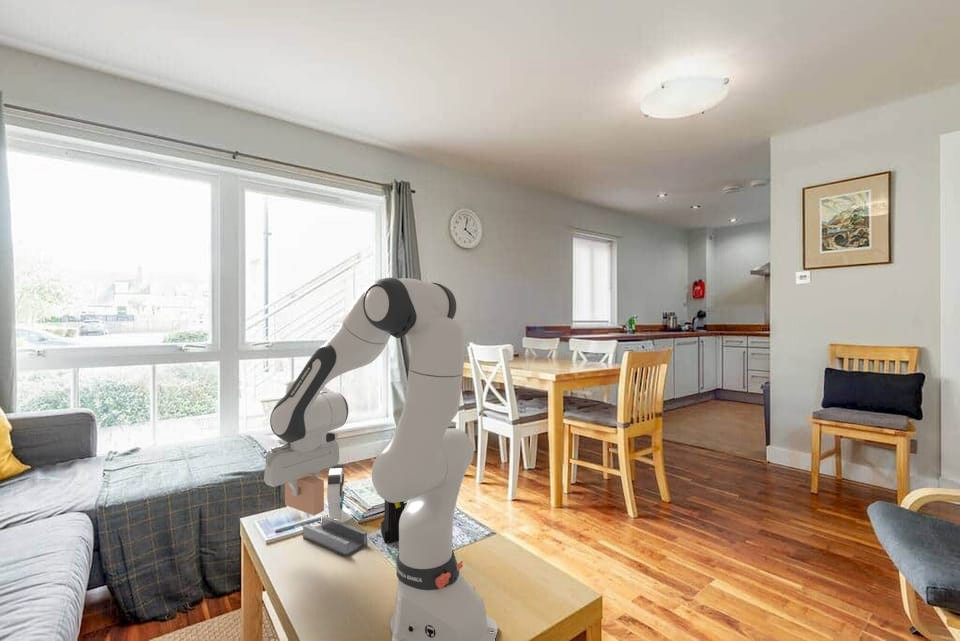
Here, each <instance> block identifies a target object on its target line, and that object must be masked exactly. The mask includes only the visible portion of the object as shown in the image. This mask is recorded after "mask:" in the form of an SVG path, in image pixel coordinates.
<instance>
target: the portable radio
mask: <svg viewBox="0 0 960 641" xmlns="http://www.w3.org/2000/svg"><path fill="white" fill-rule="evenodd" d="M404 508H405V501H402V502H396V503H391V502H388V501H386V500H384V510H383V511H384V515H383V516H384V518H383V520H382V521H381V523H380V533H381V536H382V539H383V543H394V542H399V520H400V517H401V514H402V512H403V510H404Z"/></svg>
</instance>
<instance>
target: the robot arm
mask: <svg viewBox="0 0 960 641" xmlns="http://www.w3.org/2000/svg"><path fill="white" fill-rule="evenodd" d="M456 312H457V301H456V297H455V295H454V293H453V292H452V291H451V290H450V289H449V288H448V287H447V286H445V285H443V284H441V283H437V282H428V281H424V280H419V279H417V278H407V277H406V278H396V277H385V278H380V279H377V280H375V281H373V282H371V283H370V284H369V285H367V286H365V287H364V288H363V289H362V291H361V292H360V293H359V295H358V296H356V298H355V300H354V301H353V303H352V304H351V306H350V307H349V309H348V311H347V312H346V315H345V316H344V318H343V320H342V323H341V324H340V326H339V327H338V329H337V330H336V331H335V332H334V333H333V335H332V336H331V337H330V338H329V339H328V340H327V341H326V342H325V343H324V344H323V345H321V346H320V347H319V348H318V349H317V350H316V351H315V352H314V353H313V354H312V356H311V357H310V359H309V360H308V361H307V363H306V364H305V366H304V368H303V369H302V370H301V372H300V374H299V375H298V376H297V378H295V379H292V380H290V381H289V382H288V383H287V385H286V386H287V387H286V388H285V395H284V396H283V397H281V398H280V399H279V401H278V402H276V405H275V406H274V407H273V410H272V411H271V414H270V419H269V424H270V429H271V430H272V432H273V434H274V435H275V436H276V437H277V438H279V439H280V440H282V441H283V442H284V444H280V445H279V446H273V447H271V448H270V449H269V451H268V452H267V453H266V454H265V465H264V466H265V467H264V475H263V476H264V477H263V481H264V483H265V484H266V485H268V486H269V487H274V488H276V487H278V486H281V485H285V483H287V482H288V484H289V486H290V487H291V488H292V495H293V496H298V495H300V494H301V488H300V487H297V486H296V484H295V483H297V479H298V478H301V477H304V476H307V475H308V476H311V477H315V478H318V479H319V477H320V475H321V474H320V472H321V471H325V470H326V469H329V468H330V469H331V467H333V466H336V465H337V464H339V462H340V445H339V442H338V441H337V440H338V438H339V435H338V434H339V433H337V432H335V431H334V430H337V429H339V428H341V427H344V425H345V424H346V422H347V420H348V416H349V404H348V402H347V399H346V398H345V397H344V396H343V395H342V394H341V393H340V392H336V391H334V390H330V389H329V388H327V387H326V385H327V384H328V383H329V382H331V381H332V380H333V379H335V378H338V377H339V376H342V375H343V374H346V373H348V372H350V371H352V370H356V369H359V368H362V367H363V368H364V367H365V366H368V365H370V364H371V363H373V362H374V361H375V360H376V359H377V358H378V357H379V356H380V355H381V354H382V352H383V351H384V349H385V348H386V347H387V344H388V342H389V340H390V338H391V336H392V337H394V338H395V339H401V338H402V337H404V336H405V337H406V338H407V340H408V342H409V343H410V344H409V345H410V357H409V365H408V374H407V381H406V382H407V383H406V389H405V399H404V403H403V408H402V411H401V415H400V417H399V420H398V421H397V424H396V426H395V429H394V431H393V433H392V435H391V436H390V439H389V441H388V442H387V444H386V446H384V448H383V449H382V451H381V452H380V453H379V454H378V455H377V456H376V457H375V459H374V461H373V463H372V466H371V481H372V484H373V487H374V489H375V491H376V494H378V496H380V498H382V499H383V500H384V501H385V500H386V501H388V502H391V503H396V502H402V501H404V502H406V501H408V502H407V504H406V506H404V510H403V512H402V514H401V517H400V520H399V541H398V553H397V555H396V565H395V566H396V567H395V568H396V577H397V587H396V596H395V597H396V598H395V602H394V607H393V608H394V609H393V612H392V615H391V619H390V623H389V627H390V631H391V635H392V636H391V641H494V639H495V637H496V635H497V632H498V633H499V630H498V629H499V627H498V623H497V622H496V620H493V619H492V618H491V617H489V616H488V615H487V610H486V605H485V601H484V598H482V596H480V594H479V593H478V592H477V591H476V588H475V587H474V585H473V584H470V582H468V581H467V580H466V578H465V577H464V576H463V574H461V573H460V570H461V569H462V568H463V567H464V564H463V563H464V560H461V561H460V562H458V560H457V557H456V554H455V553H454V552H455V551H454V550H453V538H454V537H453V536H454V535H453V532H454V516H455V510H456V506H457V501H458V497H459V493H460V490H461V486H462V484H463V479H464V478H465V475H466V472H467V470H468V469H469V467H470V465H471V464H472V462H473V461H474V456H475V455H474V454H475V451H474V445H473V442H472V439H471V438H470V436H469V435H468V434H467V433H466V432H465V431H463V430H462V429H459V428H455V427H454V428H449V426H450V424H451V423H452V421H453V420H454V418H455V417H456V416H457V414H458V412H459V409H460V404H461V394H462V393H461V392H462V384H463V378H464V377H463V376H464V368H465V367H464V365H465V345H464V344H465V340H464V339H465V338H464V331H463V328H462V326H461V325H460V323H458V322H457V321H456V320H454V317H455V316H456ZM490 632H494V633H490ZM497 636H498V635H497Z"/></svg>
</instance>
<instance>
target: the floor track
mask: <svg viewBox="0 0 960 641" xmlns="http://www.w3.org/2000/svg"><path fill="white" fill-rule="evenodd" d="M320 525H321V526H320V527H318V528H317V527H316V526H312V525H310V524H307V523H306V524H304V525H302V538H303V539H304V540H307V541H309V542H311V543H312V544H313V543H314V544H315V545H318V546H320V547H322V548H325V549H326V550H330V551H331V552H334V553H336V554H338V555H340V556H342V557H344V558H347V557H349V556H350V555H353V554H355V553H356V552H358V551H359V550H361V549H362V548H364V547H367V546H368V532H367V531H364V530H361V529H359V528H357V527H354V526H352V525H349V524H347V523H345V522H344V523H342V522H339V521H337V520H334V519H332V518H329V517H327V516H323V517H321V524H320Z"/></svg>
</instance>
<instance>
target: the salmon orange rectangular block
mask: <svg viewBox="0 0 960 641" xmlns="http://www.w3.org/2000/svg"><path fill="white" fill-rule="evenodd" d="M311 476H312V475H307V476H304V477H301V478H298V479H297V483H295V484H296V486H297V487H300V488H301V494H300V495H298V496H293V495H292V488H291V487H290V486H289V484H288V482H287V483H284V505H285V506H287V507H289V508H292V509H295V510H298V511H301V512H303V513H305V514H308V515H311V516H317V515H318V514H319V513H321V512H324V511H325V495H324V494H325V480H324V479H321V478H319V477H318V478H315V477H311Z"/></svg>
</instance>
